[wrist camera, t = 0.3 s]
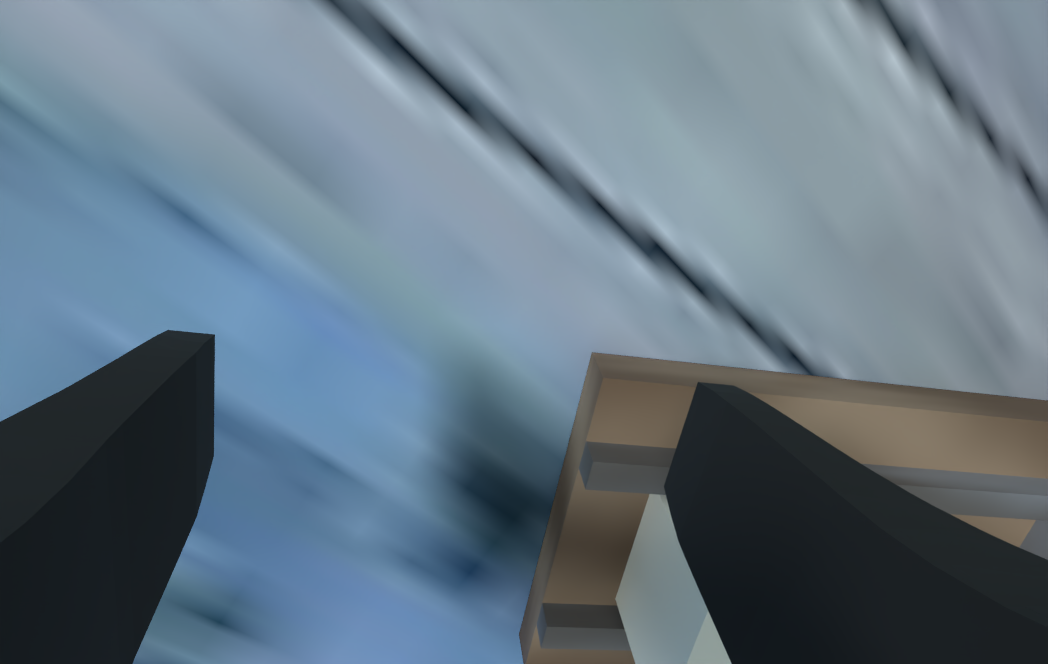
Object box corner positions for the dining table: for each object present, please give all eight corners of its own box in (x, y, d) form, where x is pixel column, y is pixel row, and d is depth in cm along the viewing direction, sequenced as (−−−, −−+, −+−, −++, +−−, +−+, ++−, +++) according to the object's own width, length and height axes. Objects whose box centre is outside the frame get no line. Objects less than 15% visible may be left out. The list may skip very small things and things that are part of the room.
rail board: (1018, 647, 32) (1103, 746, 28) (518, 634, 28) (536, 748, 24) (1174, 414, 27) (1304, 495, 23) (592, 352, 23) (629, 439, 19)
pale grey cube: (749, 603, 27) (816, 735, 22) (615, 598, 26) (657, 735, 21) (798, 491, 24) (883, 613, 20) (653, 481, 23) (709, 606, 19)
